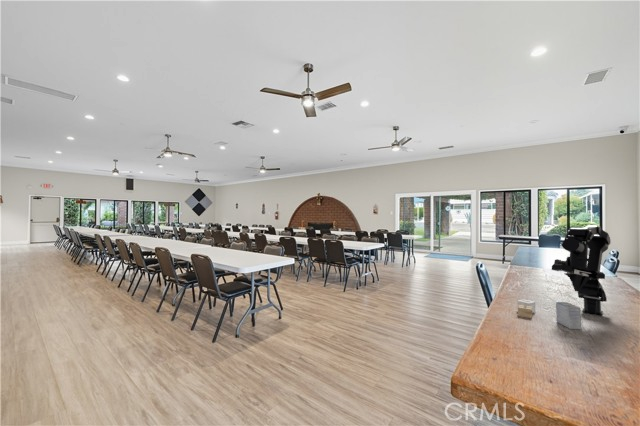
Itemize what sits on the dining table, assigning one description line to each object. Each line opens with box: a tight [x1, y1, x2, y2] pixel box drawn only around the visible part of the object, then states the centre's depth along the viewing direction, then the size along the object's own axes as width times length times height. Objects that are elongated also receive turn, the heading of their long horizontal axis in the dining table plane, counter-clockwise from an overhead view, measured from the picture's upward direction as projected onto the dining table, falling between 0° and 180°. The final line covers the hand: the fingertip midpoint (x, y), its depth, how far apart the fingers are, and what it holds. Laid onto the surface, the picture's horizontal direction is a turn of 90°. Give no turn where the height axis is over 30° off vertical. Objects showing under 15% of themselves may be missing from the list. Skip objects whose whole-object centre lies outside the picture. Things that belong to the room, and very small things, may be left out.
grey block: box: [517, 299, 536, 314], centre depth 131 cm, size 5×5×5 cm
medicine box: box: [555, 301, 583, 331], centre depth 114 cm, size 8×4×9 cm, turn 168°
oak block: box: [517, 305, 533, 319], centre depth 126 cm, size 5×5×4 cm
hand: (576, 291), depth 120 cm, fingers closed
